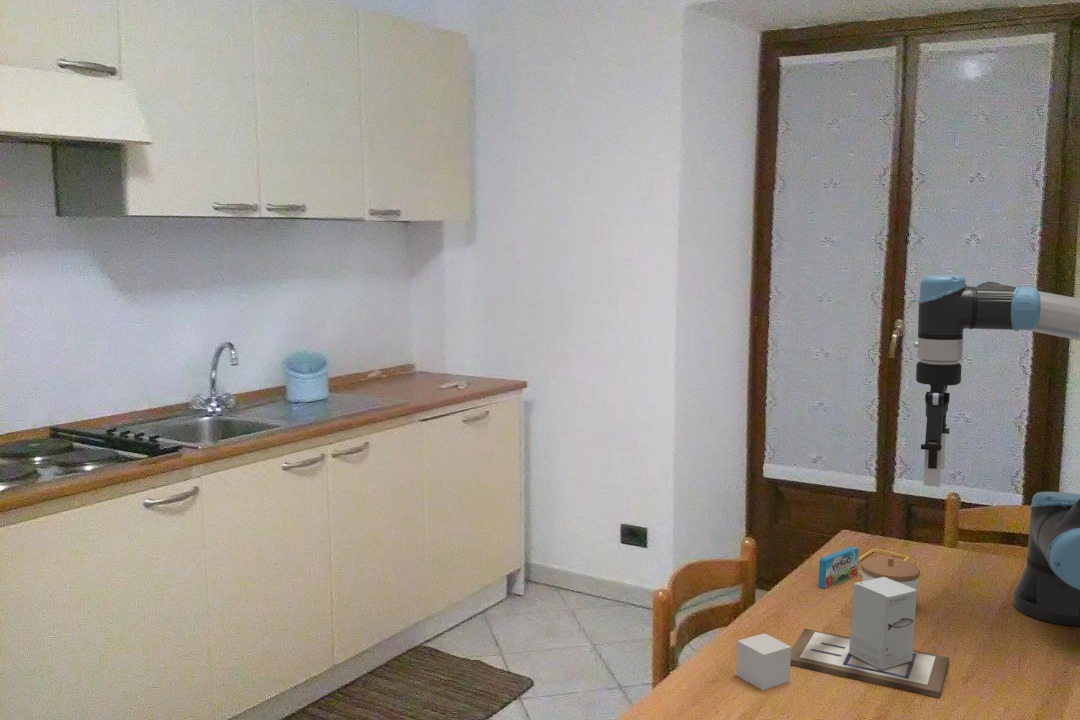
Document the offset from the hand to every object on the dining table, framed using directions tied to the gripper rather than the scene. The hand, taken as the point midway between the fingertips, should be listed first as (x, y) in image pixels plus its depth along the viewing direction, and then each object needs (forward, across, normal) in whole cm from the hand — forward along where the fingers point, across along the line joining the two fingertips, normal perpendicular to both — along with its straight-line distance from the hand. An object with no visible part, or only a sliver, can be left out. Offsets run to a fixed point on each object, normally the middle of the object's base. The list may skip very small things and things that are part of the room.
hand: (934, 476), depth 177 cm
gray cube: (+27, +37, -23) cm, 51 cm away
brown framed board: (+27, +24, -8) cm, 37 cm away
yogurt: (+28, -14, -18) cm, 36 cm away
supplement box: (+26, +23, -6) cm, 36 cm away
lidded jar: (+28, -6, -8) cm, 29 cm away
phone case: (+28, -28, -12) cm, 41 cm away
